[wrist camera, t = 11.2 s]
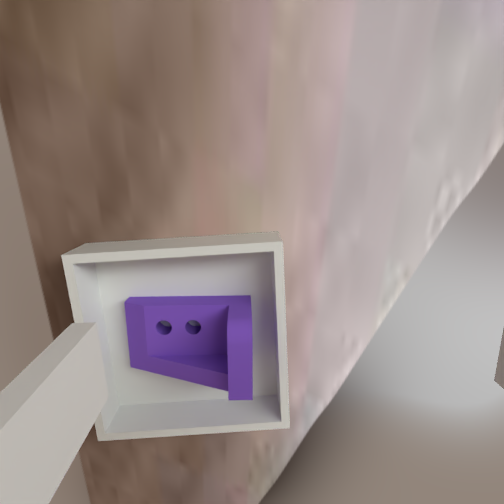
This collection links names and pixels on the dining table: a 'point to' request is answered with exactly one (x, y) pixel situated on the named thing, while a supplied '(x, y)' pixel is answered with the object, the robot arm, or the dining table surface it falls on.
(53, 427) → the robot arm
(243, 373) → the bracket
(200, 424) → the bin
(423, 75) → the dining table surface
